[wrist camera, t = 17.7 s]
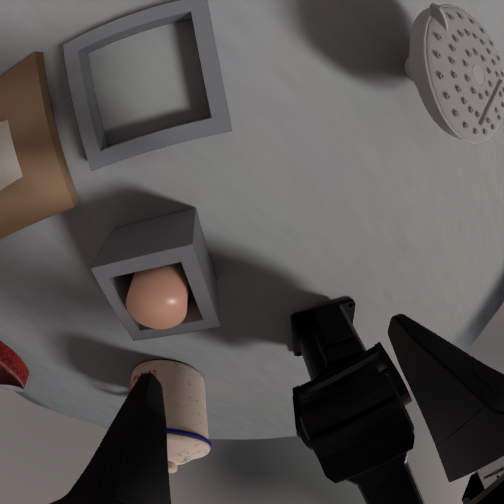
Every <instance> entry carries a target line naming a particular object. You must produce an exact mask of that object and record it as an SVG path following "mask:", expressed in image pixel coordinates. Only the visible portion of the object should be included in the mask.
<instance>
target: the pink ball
mask: <svg viewBox="0 0 504 504" xmlns="http://www.w3.org/2000/svg"><path fill="white" fill-rule="evenodd" d="M187 298H188V279H187V276H186V273H185V271H184V268H183V265H182V262H178V263H174V264H169V265H165V266H160V267H156V268H151V269H147V270H142V271H138V272H135V273H134V276H133V279H132V282H131V285H130V288H129V292H128V295H127V298H126V307H127V310H128V312H129V314H130V315H131V316H132V317H133V318H134V319H135V320H136V321H137V322H138V323H140V324H142V325H144V326H146V327H149V328H154V329H168V328H172V327H174V326H177V325H178V324H180V323H181V322H182V321H183V320H184V318H185V316H186V313H187Z"/></svg>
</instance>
